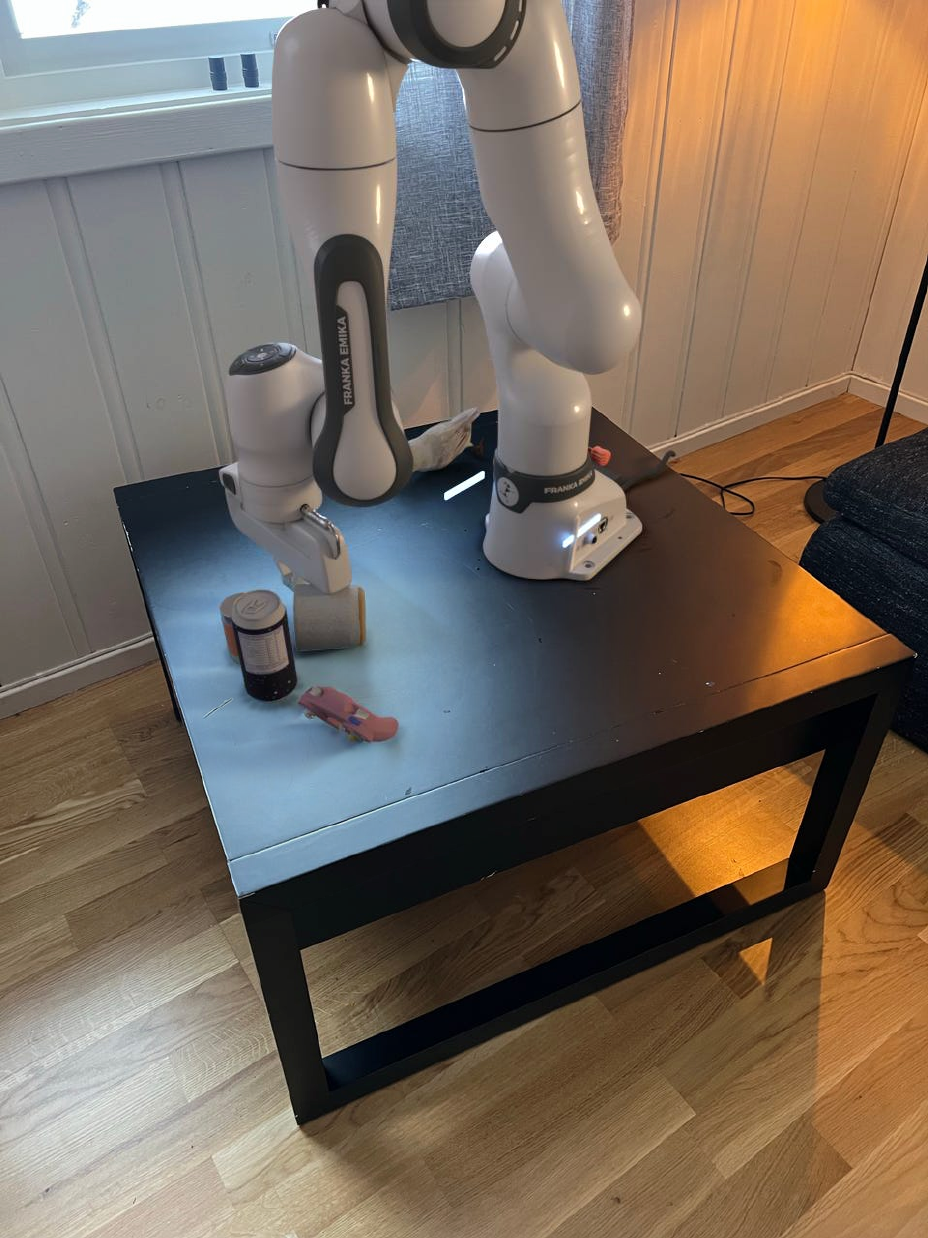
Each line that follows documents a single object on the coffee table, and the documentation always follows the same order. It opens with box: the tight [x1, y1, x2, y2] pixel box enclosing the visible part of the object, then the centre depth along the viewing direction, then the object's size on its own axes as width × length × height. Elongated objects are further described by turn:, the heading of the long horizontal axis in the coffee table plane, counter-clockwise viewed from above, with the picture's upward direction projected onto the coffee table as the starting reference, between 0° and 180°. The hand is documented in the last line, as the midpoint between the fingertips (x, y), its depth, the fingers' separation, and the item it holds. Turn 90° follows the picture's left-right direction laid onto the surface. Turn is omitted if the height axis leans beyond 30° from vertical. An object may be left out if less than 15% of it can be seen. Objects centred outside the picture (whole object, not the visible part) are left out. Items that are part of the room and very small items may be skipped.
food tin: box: [219, 592, 245, 666], centre depth 105 cm, size 5×5×7 cm
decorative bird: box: [408, 406, 484, 473], centre depth 138 cm, size 5×16×8 cm, turn 130°
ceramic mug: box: [292, 583, 367, 652], centre depth 108 cm, size 11×8×8 cm
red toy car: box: [297, 685, 400, 744], centre depth 96 cm, size 10×5×7 cm, turn 56°
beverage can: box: [231, 589, 298, 704], centre depth 99 cm, size 6×6×12 cm
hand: (295, 587), depth 113 cm, fingers closed
